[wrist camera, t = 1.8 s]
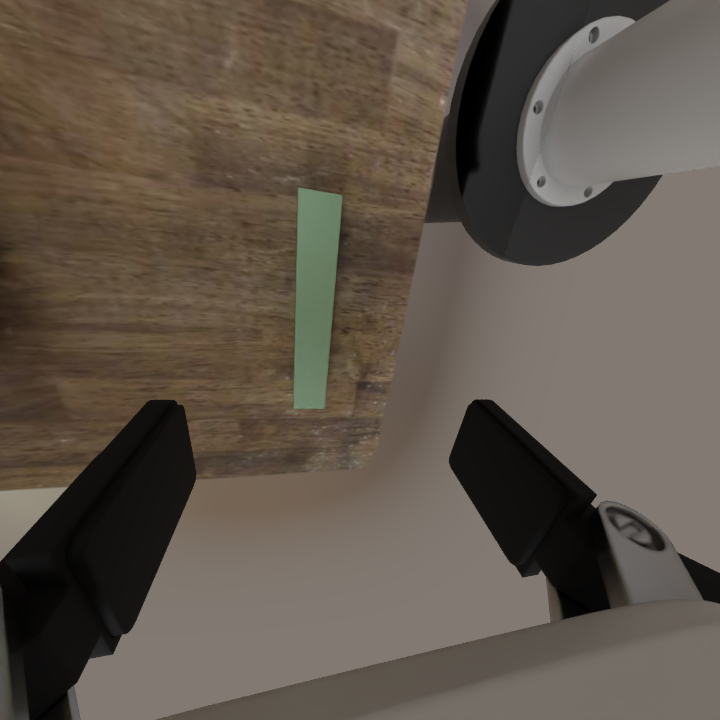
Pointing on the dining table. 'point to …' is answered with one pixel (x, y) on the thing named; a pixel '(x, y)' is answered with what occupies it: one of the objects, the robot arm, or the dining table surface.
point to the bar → (314, 293)
